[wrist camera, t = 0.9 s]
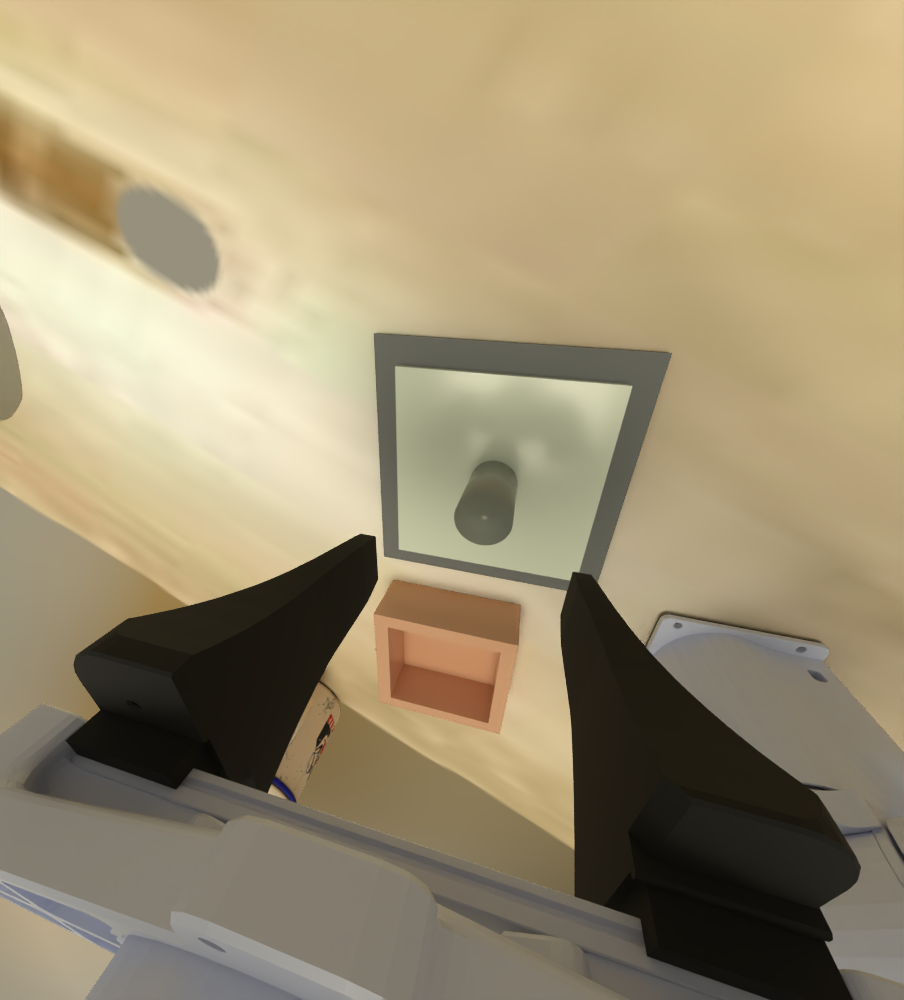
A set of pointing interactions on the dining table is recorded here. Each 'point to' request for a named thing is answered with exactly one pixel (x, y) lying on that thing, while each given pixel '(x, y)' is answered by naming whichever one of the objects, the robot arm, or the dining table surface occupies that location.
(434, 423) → the lid
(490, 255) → the dining table surface
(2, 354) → the lumpy-topped squat cylinder
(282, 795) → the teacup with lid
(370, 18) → the dining table surface
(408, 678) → the dish
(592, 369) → the mat
